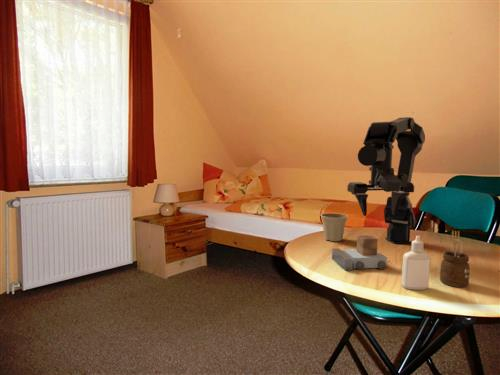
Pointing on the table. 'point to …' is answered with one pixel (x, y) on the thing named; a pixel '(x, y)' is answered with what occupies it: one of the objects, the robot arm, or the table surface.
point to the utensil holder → (455, 266)
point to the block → (367, 245)
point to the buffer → (342, 259)
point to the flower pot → (333, 226)
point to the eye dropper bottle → (416, 267)
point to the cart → (366, 260)
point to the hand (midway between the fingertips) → (379, 215)
